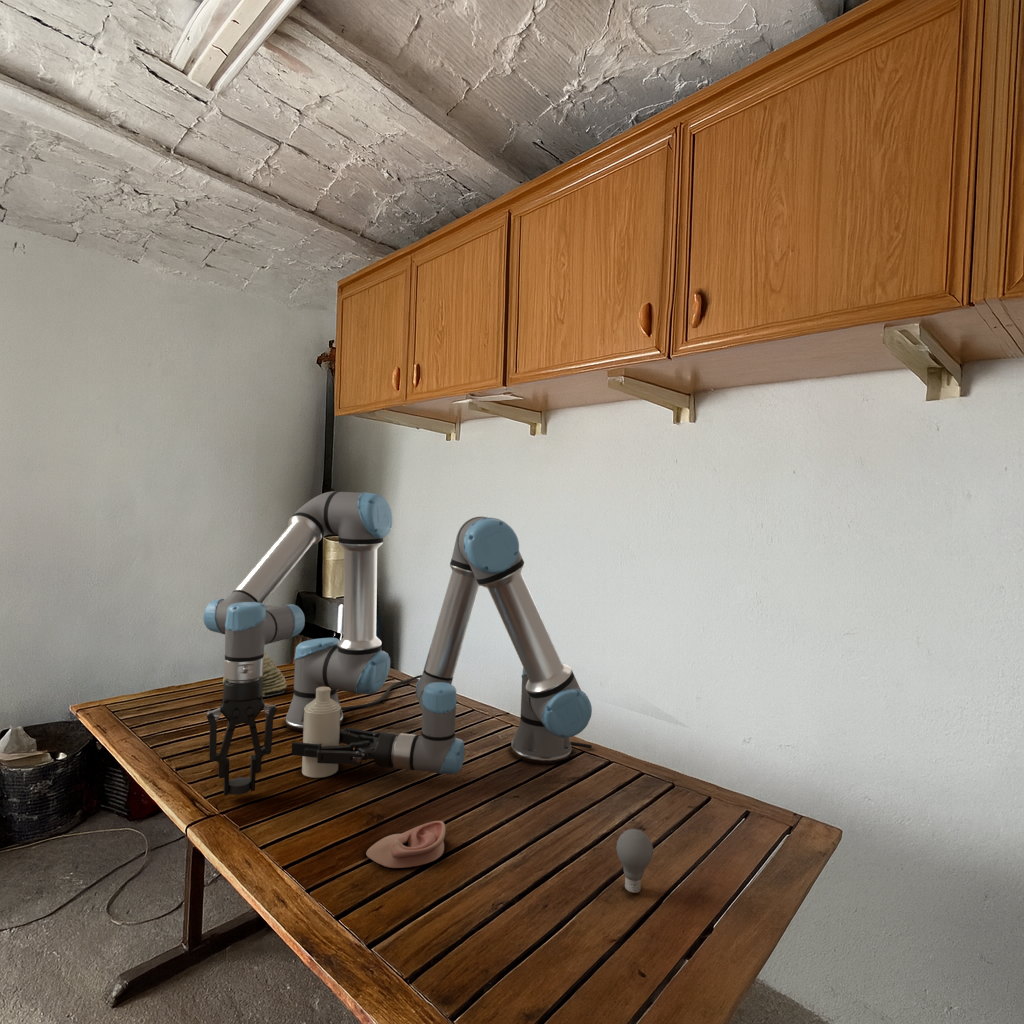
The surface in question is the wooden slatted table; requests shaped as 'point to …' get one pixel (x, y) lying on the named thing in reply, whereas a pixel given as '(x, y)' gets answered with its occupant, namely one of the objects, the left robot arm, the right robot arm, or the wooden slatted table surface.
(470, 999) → the wooden slatted table surface
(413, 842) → the anatomical model
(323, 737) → the bottle
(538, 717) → the right robot arm
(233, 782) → the cap
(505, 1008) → the wooden slatted table surface
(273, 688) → the fossil
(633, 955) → the wooden slatted table surface
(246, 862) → the wooden slatted table surface
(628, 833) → the light bulb
